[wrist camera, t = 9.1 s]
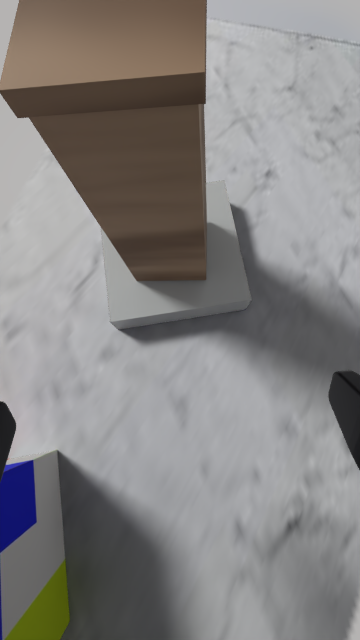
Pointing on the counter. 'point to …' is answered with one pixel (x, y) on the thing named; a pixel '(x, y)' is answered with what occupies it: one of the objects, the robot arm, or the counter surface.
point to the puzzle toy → (32, 550)
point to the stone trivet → (183, 295)
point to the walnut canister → (122, 118)
